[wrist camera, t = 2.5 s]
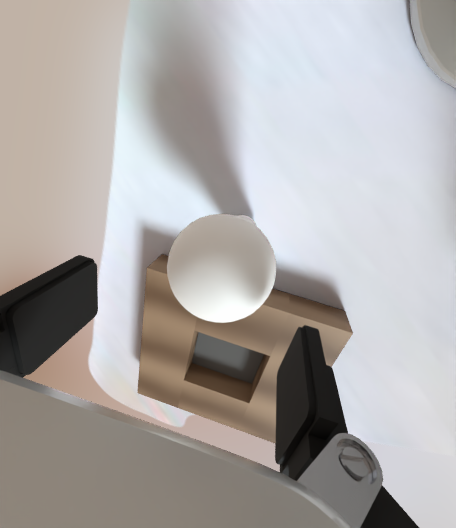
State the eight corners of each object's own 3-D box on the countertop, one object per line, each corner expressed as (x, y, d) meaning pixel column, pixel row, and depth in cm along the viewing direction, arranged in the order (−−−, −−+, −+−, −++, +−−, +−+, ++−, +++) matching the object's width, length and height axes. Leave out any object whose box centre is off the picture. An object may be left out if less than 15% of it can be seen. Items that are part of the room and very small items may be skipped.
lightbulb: (233, 174, 19) (178, 205, 10) (295, 218, 20) (303, 290, 10) (197, 234, 22) (128, 303, 13) (252, 271, 23) (227, 365, 13)
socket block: (162, 254, 24) (146, 267, 21) (345, 310, 22) (352, 333, 20) (149, 372, 32) (137, 392, 30) (281, 419, 31) (281, 445, 28)
